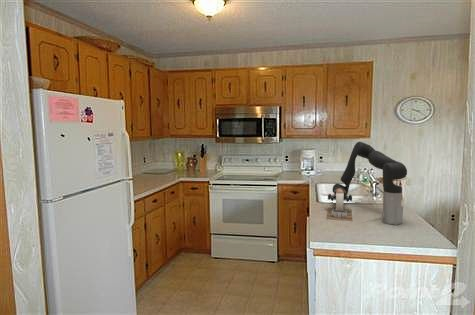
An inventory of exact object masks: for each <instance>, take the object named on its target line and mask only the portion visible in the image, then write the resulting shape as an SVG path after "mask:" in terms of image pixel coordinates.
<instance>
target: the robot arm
mask: <svg viewBox="0 0 475 315" xmlns="http://www.w3.org/2000/svg"><path fill="white" fill-rule="evenodd" d="M358 157H361V158H364V159H366V160H368V161H367V162H369V164H370V165H371V166H372V167H375V168H376V169H379V170H382V186H383V187H382V188H383V191H382V192H383V196H382V222H383V224H388V225H394V226H397V225H402V224H403V221H404V220H403V218H404V217H403V216H404V206H403V205H402V200H403V195H402V194H403V188H402V187H401V186H400V185H397V184H395V183H394V180H395V181H396V180H403V179H405V178H406V177H407V174H408V170H407V167H406V165H405V164H404V163H402V162H400V161H397V160H395V159H393V158H391V157H389V156H388V155H386V154H385V153H383V152H381V151H378V150H376V149H375V148H374V147H373V146H372V145H370V144H368V143H365V142H362V141H357V142H356V143H355V145H354V146H353V148H352V151H351V152H350V157H349V159H348V162H347V165H346V167H345V169H344V170H343V171H344V172H342V175H341V177H340V181H341V183H343V184H344V185H343V184H340V183H334V185H333V186H332V193H333V194H331V193H328V194H327V200H330V201H332V202H334V201H336V191H337V190H338V189H341V190H343V192H344V201H345V202H346V203H348V202H352V201H353V195H352V194H349V188H350V185H351V183H352V180H353V179H354V177H355V174H356V159H357V158H358ZM348 194H349V195H348Z"/></svg>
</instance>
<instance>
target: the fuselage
mask: <svg viewBox="0 0 475 315" xmlns="http://www.w3.org/2000/svg"><path fill="white" fill-rule="evenodd" d="M344 203H345V202H344V192H343V190H341V189H338V190H337V191H336V200H335V209H341V210H343V209H344V205H345V204H344Z"/></svg>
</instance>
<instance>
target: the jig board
mask: <svg viewBox="0 0 475 315" xmlns="http://www.w3.org/2000/svg"><path fill="white" fill-rule="evenodd" d="M334 209H335V208H330V207H329V208H327V213H326V218H325V220H334V221H345V222H346V221H347V222H353V214H352V209H344V208H343V210H346V211H347V217H346V218H335V217H333V216H332V210H334Z"/></svg>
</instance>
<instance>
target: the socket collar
mask: <svg viewBox="0 0 475 315" xmlns="http://www.w3.org/2000/svg"><path fill="white" fill-rule="evenodd" d="M333 209H334V210H332V216H333V217H335V218H346V217H347V211H346V210H341V209H336V208H333Z"/></svg>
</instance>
